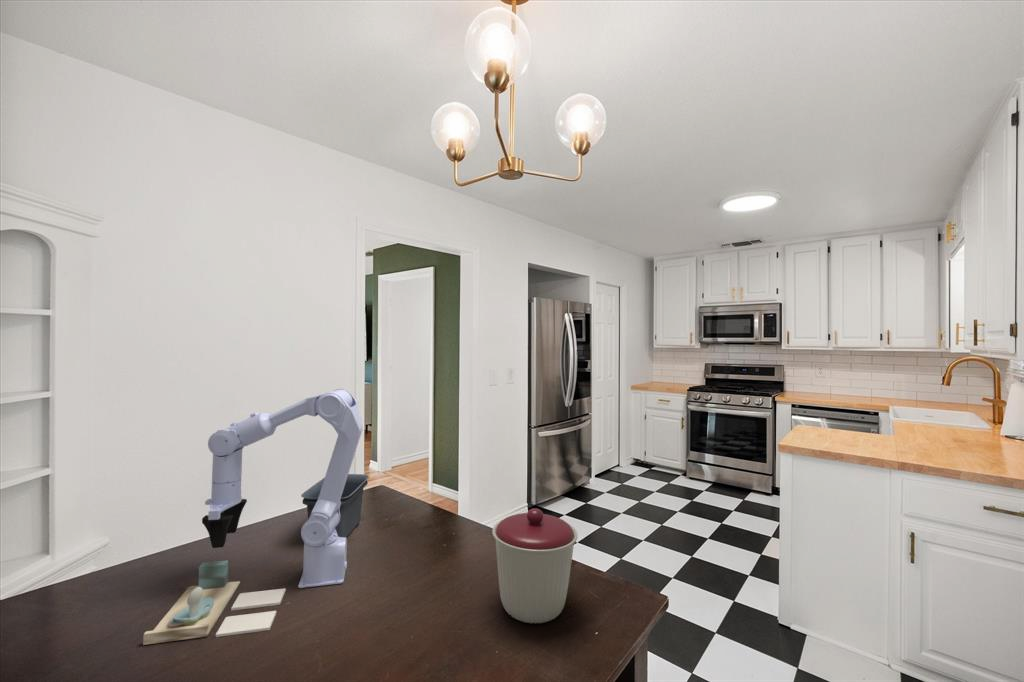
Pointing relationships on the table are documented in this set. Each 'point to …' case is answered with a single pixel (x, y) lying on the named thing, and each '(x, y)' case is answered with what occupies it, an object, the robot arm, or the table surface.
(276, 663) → the table surface
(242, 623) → the broken strip
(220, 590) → the wooden board
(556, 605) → the canister
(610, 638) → the table surface
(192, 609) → the pacifier
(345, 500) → the storage bin
